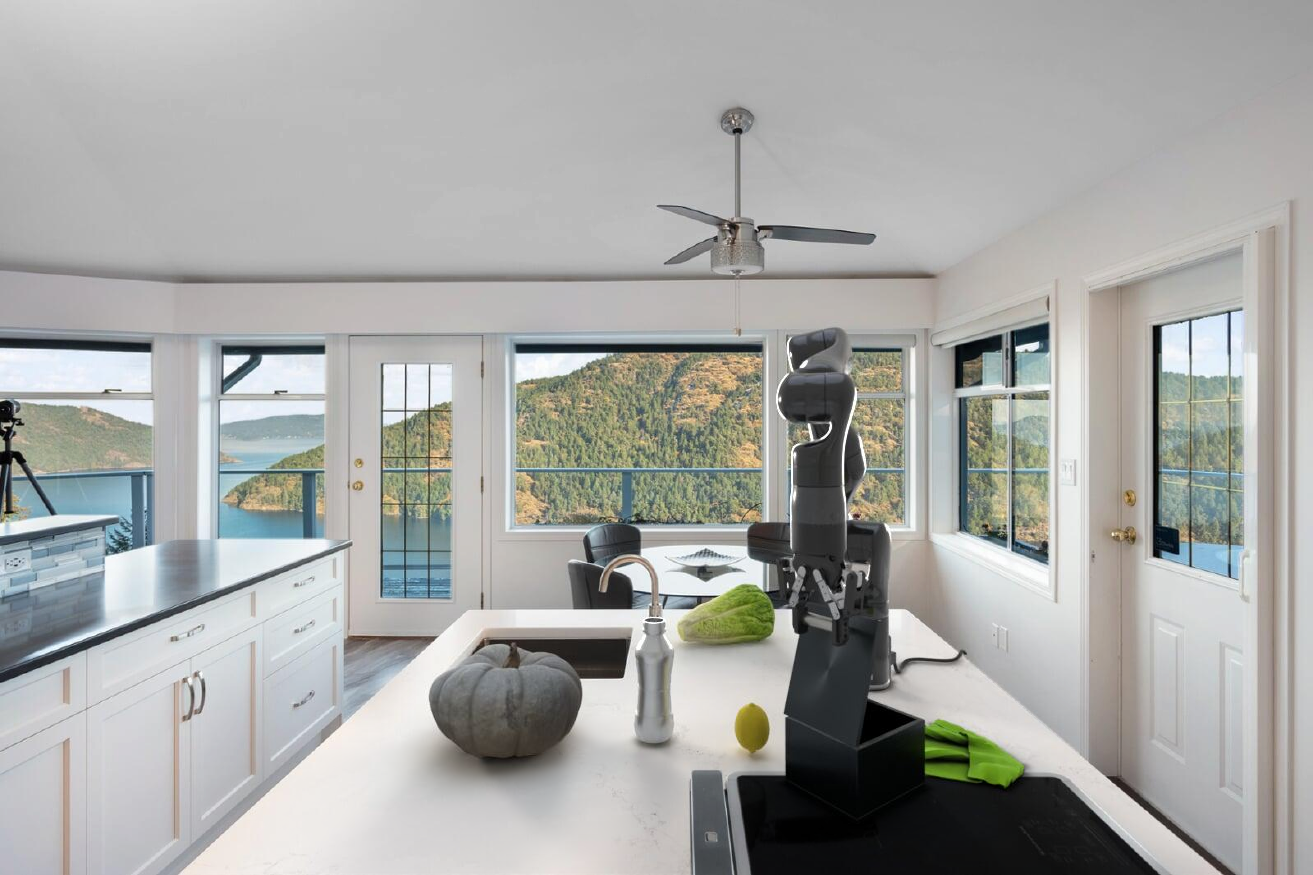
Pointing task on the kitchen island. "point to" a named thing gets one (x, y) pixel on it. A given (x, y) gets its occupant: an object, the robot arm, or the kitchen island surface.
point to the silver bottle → (654, 683)
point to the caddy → (858, 763)
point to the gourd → (506, 701)
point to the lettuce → (730, 618)
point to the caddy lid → (832, 675)
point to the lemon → (752, 727)
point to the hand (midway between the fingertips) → (819, 638)
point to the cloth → (967, 756)
